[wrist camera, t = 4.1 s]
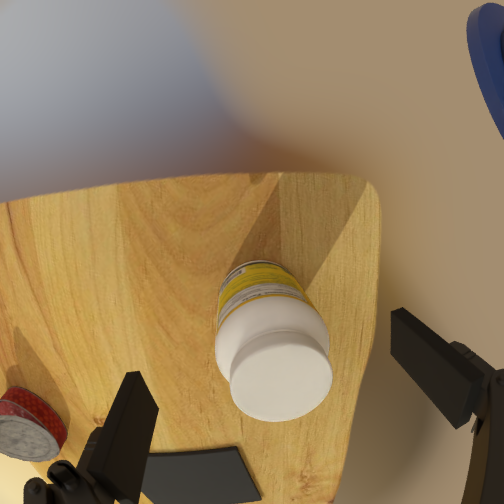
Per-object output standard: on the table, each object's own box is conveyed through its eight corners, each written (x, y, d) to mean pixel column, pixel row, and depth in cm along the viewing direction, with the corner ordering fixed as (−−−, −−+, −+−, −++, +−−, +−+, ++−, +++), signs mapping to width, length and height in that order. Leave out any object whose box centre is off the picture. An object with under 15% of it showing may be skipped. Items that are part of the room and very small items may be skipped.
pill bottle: (288, 335, 24) (325, 433, 13) (213, 326, 23) (205, 427, 12) (306, 264, 22) (368, 334, 12) (225, 251, 22) (222, 319, 11)
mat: (236, 446, 27) (236, 449, 26) (261, 497, 30) (261, 500, 30) (110, 452, 26) (109, 455, 26) (156, 503, 30) (156, 506, 29)
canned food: (37, 366, 28) (13, 390, 19) (84, 426, 29) (77, 463, 20) (-10, 401, 23) (-38, 427, 14) (35, 456, 25) (21, 493, 16)
